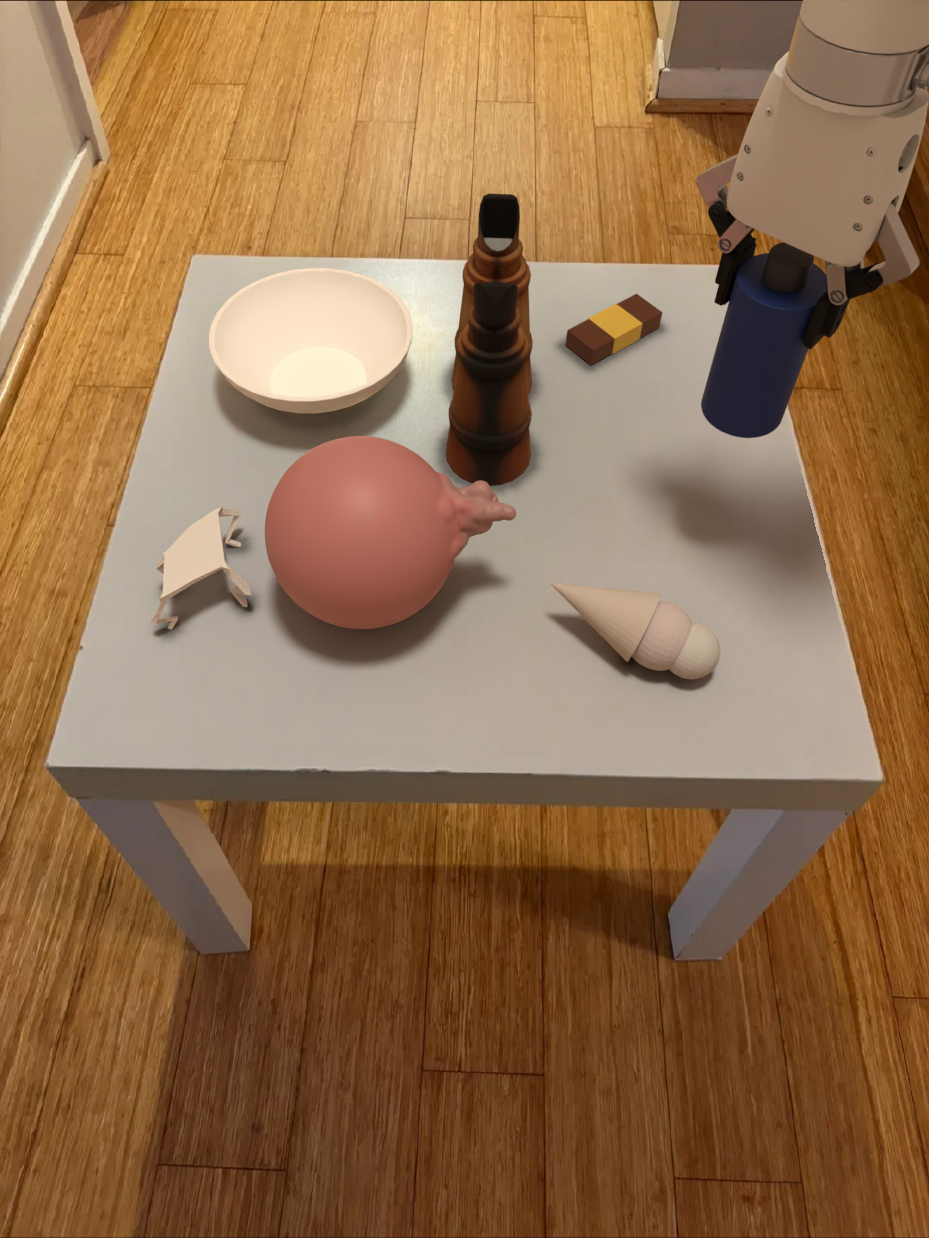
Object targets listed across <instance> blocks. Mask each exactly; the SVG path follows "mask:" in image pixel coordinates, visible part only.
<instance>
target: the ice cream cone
mask: <svg viewBox="0 0 929 1238" xmlns="http://www.w3.org/2000/svg"><path fill="white" fill-rule="evenodd" d="M549 584H550V585H551V587H553V588H554V589H555V590H556V591H557V593H559V595H561V597H562V598H563V599H564V600H565V601H566V602H567V603H568V604H569V605H570V606H571V607H572V608H573V609H574V610H575V611H576V612H577V613H578V614H579V615H580V616H581V617H582V618H583V619H584V620H585V621H586V622H587V623H588V624H589V625H590V626H591V627H592V628H593V629H594V630H595V632H597V633H598V634H599V636H601V637H602V638H603V639H604V640H605V642H606V643H607V644H609V646H610V647H612V648H613V650H614V651H616V653H617V654H619V656H621V658H622V659H623V660H624V661H625V662H627V663H628V662H629V661H630V660H631V657H632V658H633V660H634V661H636V662H637V663H638V664H639V665H641V666H643V667H644V668H646V669H649V670H652V671H667V670H669V671H670V672H671V673H673V674H674V675H676V676H677V677H680V678H682V679H685V680H698V679H701V678H704V677H706V676H708V675H710V673H712V671H713V670H715V668H716V667H717V665H718V663H719V661H720V657H721V646H720V642H719V639H718V637H717V635H716V634H715V633H714V631H713V630H711V629H710V628H709V627H707V626H706V625H704V624H701V623H699V622H693V621H692V618H691V617H690V616H689V613H687V612H686V611H685V610H684V608H682V607H680V606H678V605H677V604H675V603H672V602H669V601H663V600H662V601H661V600H660V599H661V595H662V594H661V593H653V592H644V591H635V590H624V589H615V588H606V587H595V586H585V585H578V584H577V585H576V584H567V583H557V582H549Z"/></svg>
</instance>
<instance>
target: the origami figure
mask: <svg viewBox="0 0 929 1238" xmlns="http://www.w3.org/2000/svg"><path fill="white" fill-rule="evenodd" d="M241 513H242V511H240V510H236V509H231V508H224V507H222V506H220V507H218V508H215V509H214V510H212V511H210V512H209V513H207V514H206V515H204V516H203V517H201V518H200V519H198V520H196V521H195V522H194V523H192V524H191V525H189V526H188V527H187V528H186V529H185V530H184V531H183V532H182V534H181V535H180V536H179V537H178V538H177V539H176V540H175V541H174V542H173V543H172V544H171V545H170V546H169V548H168V549H167V550H165V551H164V552H162V556H163V557H162V558H161V559H160V560H158V562H157V563H156V568H155V569H156V570H157V571H158V572H159V573H161V574H162V592H161V594H160V597H159V601H160V603H159V606H158V608H157V610H156V612H155V613H154V614H153V616H152V618H151V621H150V623H151V624H154V625H155V624H163V623H167V622H168V623H169V624H168V626H167V630H173V628H174V626H175V625H176V624H177V622H178V620H179V615H175V616H173V615H172V616H166V617H161V615H162V613H163V611H164V608H165V606H166V604H167V601H168V600H170V599H171V598H173V597H175V596H176V595H178V594H180V593H181V592H182V591H184V590H186V589H187V588H190V587H191V586H192V585H194V584H196V583H197V582H199V581H201V580H203V579H206V578H207V577H209V576H211V575H213V574H215V573H217V572H219V571H221V570H222V571H223V572H224V573H225V574H226V575H227V577H228V578H229V579H230V580H231V581H232V582H233V584H235V585H229V591H230V593H231V594H232V595H233V597H234V598H235V600H237V602H239V604H240V605H241V606H242V608H248V607H249V606H248V600H247V598H246V597H245V596H252V591H251V586H250V585H249V584H248V582H247V581H245V580H244V579H243V578H242V577H241V576H240V575H239V574H238V573H236V571H235V570H233V568H232V567H230V565H228V564H227V563H226V560H225V558H226V557H225V550H224V543H225V544H228V545H230V546H232V547H235V548H241V547H242V542H240V541H238V540H235V539H231V538H232V535H233V532H234V530H235V528H236V526H237V524H238V521H239V519H240V517H241ZM220 517H232V520H231V523H230V525H229V528H228V531H227V534H226V537H225V542H224V543H223V535H222V528H221V520H220Z"/></svg>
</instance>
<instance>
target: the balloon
mask: <svg viewBox="0 0 929 1238" xmlns="http://www.w3.org/2000/svg"><path fill="white" fill-rule="evenodd" d="M490 486H491V485H489V484H488V483H487V482H485V481H482V480H479V481H476V482H474V483H471V484H470V485H468V486H460V487H459V486H456V485H455V484H453V482H452V481H451V479H450V478H449V476H447V475H446V474H444V473H442V472H438V471H436V470H435V469H434V467H432V466H431V464H430V463H429V462H428V461H426V460H425V459H424V458H422V456H420V455H419V454H418V453H417V452H415V451H414V450H412V449H410V448H408V447H407V446H404V445H402V444H400V443H398V442H395V441H392V440H389V439H387V438H381V437H376V436H371V435H353V436H344V437H340V438H335V439H332V440H329V441H326V442H323V443H321V444H319V445H317V446H315V447H313V448H311V449H309V450H308V451H307V452H305V453H303V454H302V455H301V456H300V457H299V458H298V459H296V460H295V461H294V462H293V463H292V464H291V465H290V466H289V467H288V468H287V470H286V471H284V474H283V475H282V476H281V477H280V478H279V480H278V482H277V484H276V485H275V488H274V489H273V491H272V494H271V496H270V500H269V501H268V505H267V509H266V514H265V520H264V544H265V550H266V554H267V558H268V562H269V564H270V567H271V569H272V572H273V574H274V576H275V578H276V579H277V582H278V583H279V585H280V586H281V587H282V589H283V591H284V592H285V593H286V594H287V596H289V597H290V599H291V600H292V601H293V602H294V603H295V604H296V605H298V606H299V607H300V608H301V609H303V610H304V611H305V612H307V613H308V614H310V615H311V616H313V617H315V618H316V619H319V620H320V621H322V622H325V623H328V624H331V625H333V626H336V627H340V628H346V629H353V630H372V629H379V628H384V627H388V626H391V625H394V624H397V623H399V622H402V621H404V620H406V619H408V618H410V617H411V616H413V615H415V614H417V613H418V612H419V611H420V610H422V609H423V608H424V607H425V606H427V605H428V604H429V603H430V602H431V601H432V600H433V599H434V597H435V596H436V595H437V594H438V593H439V592H440V590H441V589H442V587H443V586H444V584H445V582H446V581H447V579H448V577H449V575H450V573H451V570H452V569H453V565H454V562H455V559H456V558H458V556H460V554H461V553H462V551H463V550H464V549H465V548H466V546H467V545H468V543H469V540H470V538H472V537H474V536H478V535H483V534H485V533H487V532H488V531H490V529H491V528H492V527H493V524H494V522H502V521H513V520H514V519H515V518H516V517H517V511H516V508H515V507H514V506H512V505H510V504H507V503H505V502H501V501H499V498H498V496H497V494H496V492H495V491H494V490H493V489H492V488H491V487H490Z"/></svg>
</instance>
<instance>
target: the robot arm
mask: <svg viewBox="0 0 929 1238" xmlns="http://www.w3.org/2000/svg"><path fill="white" fill-rule="evenodd" d="M928 89H929V0H802V3H801V6H800V10H799V13H798V16H797V20H796V24H795V27H794V31H793V35H792V38H791V42H790V46H789V50H788V51H787V52H786V53H784V55H782V57H781V58H779V59H778V60H777V62H776V63H775V65H774V67H773V69H772V71H771V73H770V75H769V76H768V79H767V81H766V83H765V85H764V87H763V90H762V91H761V94H760V96H759V98H758V101H757V104H756V106H755V108H754V110H753V113H752V115H751V118H750V120H749V122H748V125H747V128H746V130H745V132H744V135H743V139H742V141H741V144H740V148H739V150H738V152H737V153H736V154H734V155H732V156H730V157H729V158H728V157H727V158H726V159H723V160H722V161H720V162H718V163H716V164H714V165H712V166H710V167H707V168H706V169H705V170H704V171H703V172H701V173H700V174H699V175H697V177H696V179H695V183H696V186H697V189H698V191H699V193H700V195H701V197H702V199H703V202H704V204H705V205H707V207H708V209H707V215H708V218H709V219H710V221H711V223H712V226H713V227H714V230H715V232H716V234H717V236H718V237H719V239H718V240H717V248H718V249H719V251H720V252H721V256H720V260H719V264H718V268H717V271H716V275H715V279H714V283H715V284H716V285H718V286H717V289H716V294H715V297H714V303H715V304H717V305H719V306H721V307H722V306H726V304H727V305H728V304H729V300H730V296H731V293H732V289H733V286H734V282H735V278H736V275H737V271H738V269H739V267H740V266H741V265H742V263H743V262H745V261H746V260H747V259H749V258H751V257H753V256H755V252H756V248H757V243H756V242H757V238H755V237H754V236H753V235H752V234H753V233H754V232H755V231H758V232H760V233H762V234H764V235H767V236H769V237H771V238H773V239H775V240H777V241H780V242H781V243H783V242H784V243H786V244H789V245H791V246H793V247H795V248H798V249H800V250H802V251H804V252H807V253H809V254H811V255H813V256H814V257H815V258H818V259H820V260H823V261H825V274H826V275H827V286H828V291H827V292H825V293H824V294H823V295H822V296H821V297H820V299H819V300H818V302H817V304H816V307H815V309H814V312H813V315H812V317H811V320H810V323H809V326H808V328H807V331H806V334H805V336H804V339H803V342H802V343H803V344H804V347H806V348H808V350H813V348H814V347H815V346H816V345H817V344H818V343H819V342H820V341H821V340H822V339H823V338H824V337H827V338H828V339H830V338H832V337H833V336H834V335H835V333H837V331H838V329H839V328H840V325H841V323H842V321H843V318H844V316H845V314H846V311H847V309H848V305H850V301H851V300H852V299H854V298H855V299H856V298H857V297H860V296H864V295H866V294H870V293H872V292H875V291H876V290H878V289H879V288H882V287H884V286H889V285H892V284H894V283H896V282H899V281H901V280H904V279H907V278H908V277H910V276H911V275H912V274H913V272H915V271H916V270H917V268H918V267H919V266H920V258H919V256H918V253H917V252H916V249H915V247H914V245H913V243H912V241H911V238H910V236H909V234H908V232H907V230H906V228H905V226H904V224H903V221H902V220H901V217H900V215H899V211H900V209H901V206H902V203H903V201H904V197H905V196H906V195H905V194H906V191H907V188H908V185H909V182H910V180H911V176H912V173H913V170H914V166H915V162H916V160H917V156H918V152H919V149H920V144H921V141H922V137H923V133H924V130H925V129H924V128H925V124H926V119H927V114H928V108H929V91H928ZM727 183H728V186H727ZM874 242H877V244H878V246H879V248H880V250H881V252H882V254H883V256H884V260H885V261H882V262H876V263H873V264H870V265H868V266H865V255H866V253H867V252H868V251H869V250H870V249H871V246H872V245H873V243H874Z"/></svg>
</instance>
